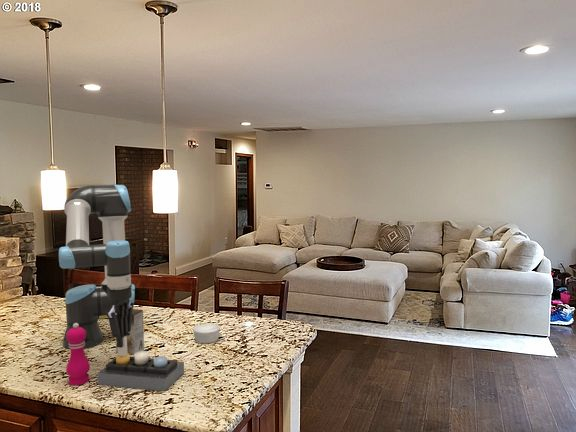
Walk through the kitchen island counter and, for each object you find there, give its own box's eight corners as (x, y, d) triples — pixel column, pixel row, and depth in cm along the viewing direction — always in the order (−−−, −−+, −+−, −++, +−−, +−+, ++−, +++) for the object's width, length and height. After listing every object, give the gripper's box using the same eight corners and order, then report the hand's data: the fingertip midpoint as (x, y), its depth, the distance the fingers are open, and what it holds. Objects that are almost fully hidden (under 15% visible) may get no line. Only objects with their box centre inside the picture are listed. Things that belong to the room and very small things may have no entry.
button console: (98, 384, 153) (97, 368, 152) (122, 367, 166) (121, 352, 166) (164, 391, 147) (164, 374, 147) (184, 372, 161) (183, 357, 161)
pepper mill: (71, 377, 159) (68, 320, 157) (93, 376, 159) (90, 319, 158) (63, 386, 152) (59, 327, 150) (86, 385, 152) (83, 326, 150)
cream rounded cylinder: (132, 374, 155) (131, 355, 154) (139, 369, 159) (138, 350, 159) (144, 375, 154) (143, 356, 154) (151, 370, 158) (150, 351, 158)
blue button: (151, 380, 154) (151, 361, 153) (158, 374, 158) (157, 355, 157) (164, 381, 153) (163, 362, 152) (170, 375, 157) (169, 356, 156)
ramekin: (214, 345, 187) (214, 332, 186) (188, 344, 189) (188, 331, 188) (224, 336, 198) (223, 324, 197) (199, 334, 200) (199, 322, 199)
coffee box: (115, 352, 181) (113, 311, 179) (126, 346, 187) (124, 307, 185) (135, 354, 178) (133, 314, 176) (145, 348, 184) (143, 309, 182)
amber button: (114, 376, 157) (113, 357, 156) (121, 371, 161) (120, 352, 160) (125, 377, 156) (124, 358, 155) (133, 372, 160) (132, 353, 159)
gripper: (118, 292, 148) (121, 363, 151) (140, 283, 161) (142, 348, 163) (97, 291, 150) (101, 361, 152) (120, 282, 163) (123, 347, 165)
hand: (122, 355), depth 158 cm, fingers closed
